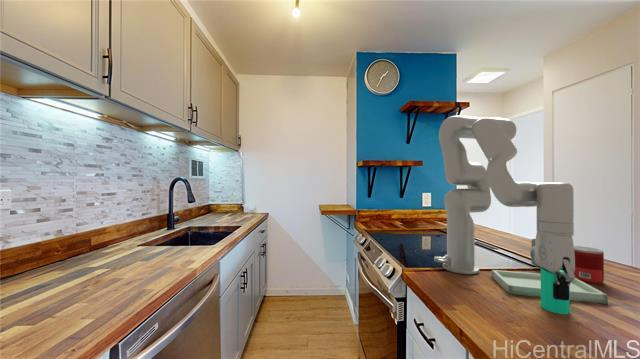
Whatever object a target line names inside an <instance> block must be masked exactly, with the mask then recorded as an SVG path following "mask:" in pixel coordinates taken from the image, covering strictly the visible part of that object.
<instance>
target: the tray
mask: <svg viewBox="0 0 640 359" xmlns="http://www.w3.org/2000/svg"><path fill="white" fill-rule="evenodd" d="M491 277H492V279H493V280H494V281H496V283H498V285H499V286H501V287H502V289H504V291H505V292H507V293H508V294H509V295H510V294H511V295H518V296H527V297H528V296H529V297H538V298H541V273H538V272H537V273H535V272H534V273H533V272H525V271H524V272H523V271H510V270H500V269H491ZM608 300H609V299H608V294H606V293H605V292H602V291H601V290H599V289H598V288H595V287H594V286H592V285H589V283H585V282H582V281H580V280H578V279H577V278H575V279H573V280H572V281H571V282H570V301H577V302H584V303H585V302H586V303H594V304H595V303H596V304H604V305H607V304H609V303H608V302H609V301H608Z"/></svg>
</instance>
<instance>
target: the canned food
mask: <svg viewBox="0 0 640 359" xmlns="http://www.w3.org/2000/svg"><path fill="white" fill-rule="evenodd" d="M574 254H575V271H574V275H575V278H577V279H578V280H580V281H582V282H584V283H586V284H593V285H603V284H604V282H605V278H604V277H605V276H604V274H605V273H604V272H605V269H604V268H605V266H604V265H605V257H604V256H605V254H604V250H602V249H600V248H595V247H589V246H579V245H578V246H577V245H575V246H574Z"/></svg>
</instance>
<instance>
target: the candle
mask: <svg viewBox="0 0 640 359" xmlns="http://www.w3.org/2000/svg"><path fill="white" fill-rule="evenodd" d="M559 272H564V271H563V270H560V271H559ZM540 274H541V297H540V307H541V308H543V310H545V311H548V312H551V313H554V314H559V315H569V314H571V312H570V311H571V310H570V309H571V307H570V306H571V305H570V304H571V303H570V301H571V300H570V286H569V300H558V299H555V298H553V283H555V279H554V273H552V272H550V271H548V270H546V269H544V268H543V267H540ZM561 276H564V275H560V274H559V278H560V277H561ZM568 313H569V314H568Z"/></svg>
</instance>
